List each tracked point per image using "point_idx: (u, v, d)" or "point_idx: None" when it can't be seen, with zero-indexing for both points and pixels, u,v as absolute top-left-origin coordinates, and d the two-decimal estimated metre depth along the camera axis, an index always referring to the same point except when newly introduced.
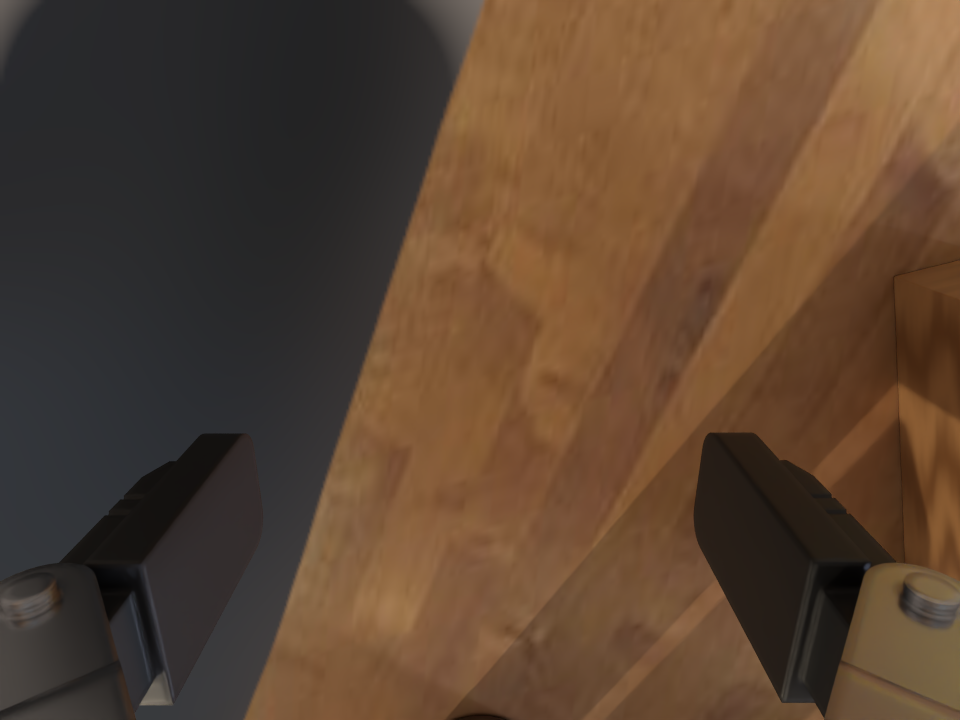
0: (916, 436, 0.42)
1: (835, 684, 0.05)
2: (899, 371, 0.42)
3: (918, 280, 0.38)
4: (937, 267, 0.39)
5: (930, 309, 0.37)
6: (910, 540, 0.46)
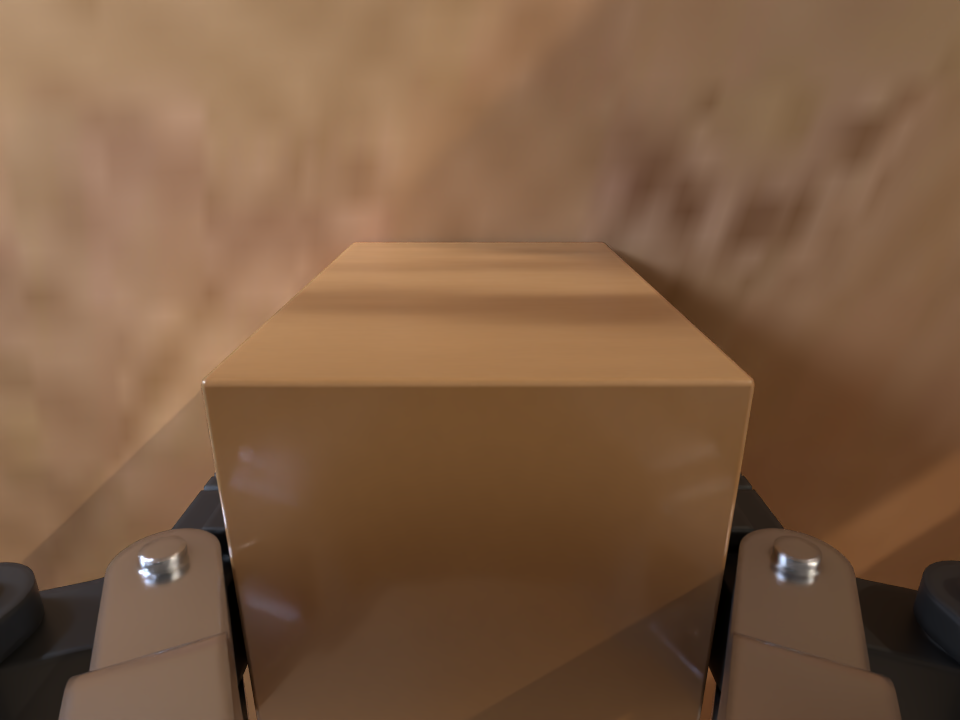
0: None
1: (732, 656, 0.05)
2: None
3: None
4: None
5: None
6: None
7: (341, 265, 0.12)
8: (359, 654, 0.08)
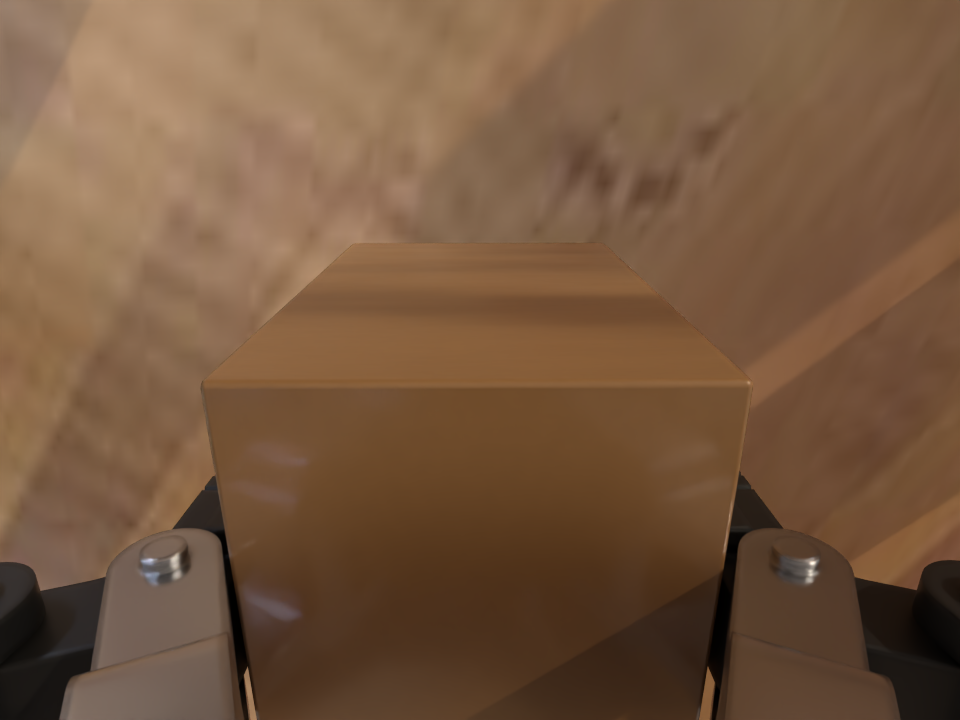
0: None
1: (732, 657, 0.05)
2: None
3: None
4: None
5: None
6: None
7: (341, 266, 0.12)
8: (358, 654, 0.08)
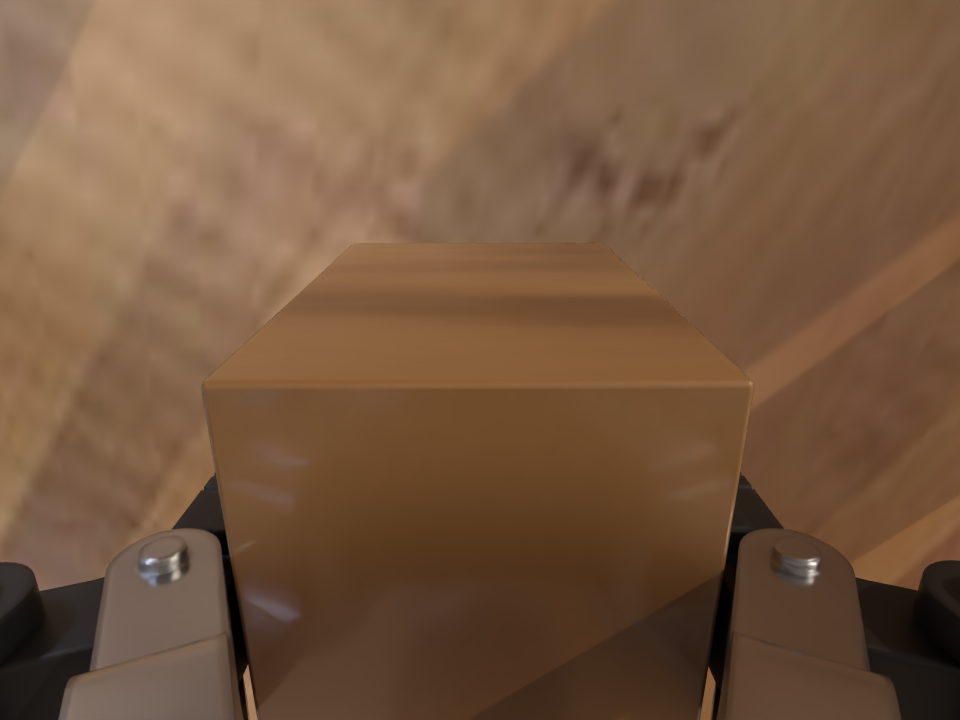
0: None
1: (732, 657, 0.05)
2: None
3: None
4: None
5: None
6: None
7: (341, 266, 0.12)
8: (360, 655, 0.08)
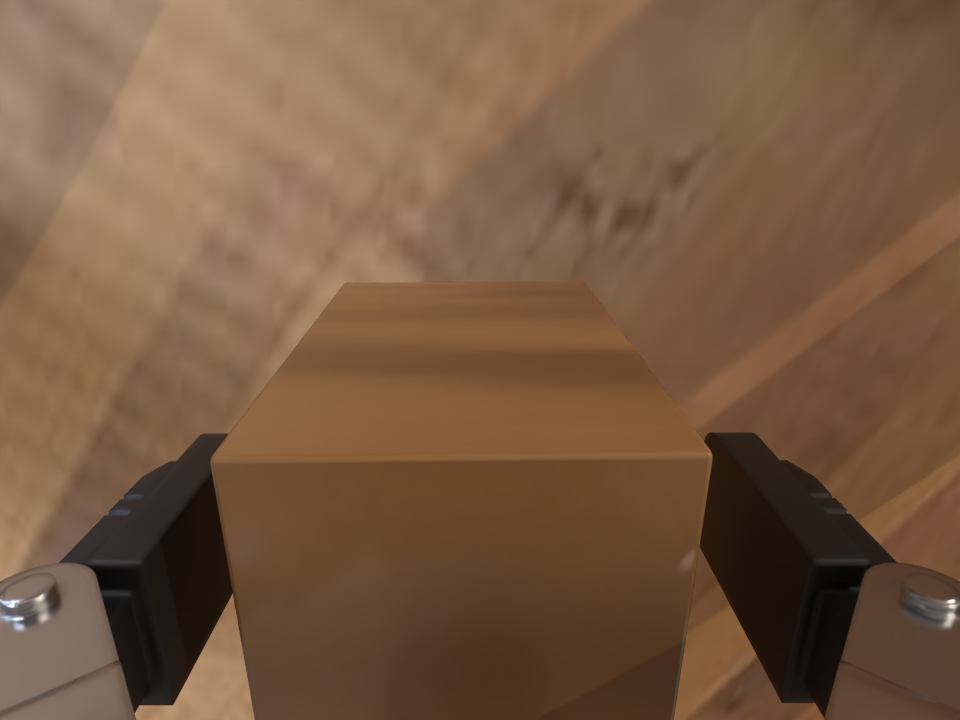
0: None
1: (835, 684, 0.05)
2: None
3: None
4: None
5: None
6: None
7: (334, 313, 0.12)
8: (356, 697, 0.08)
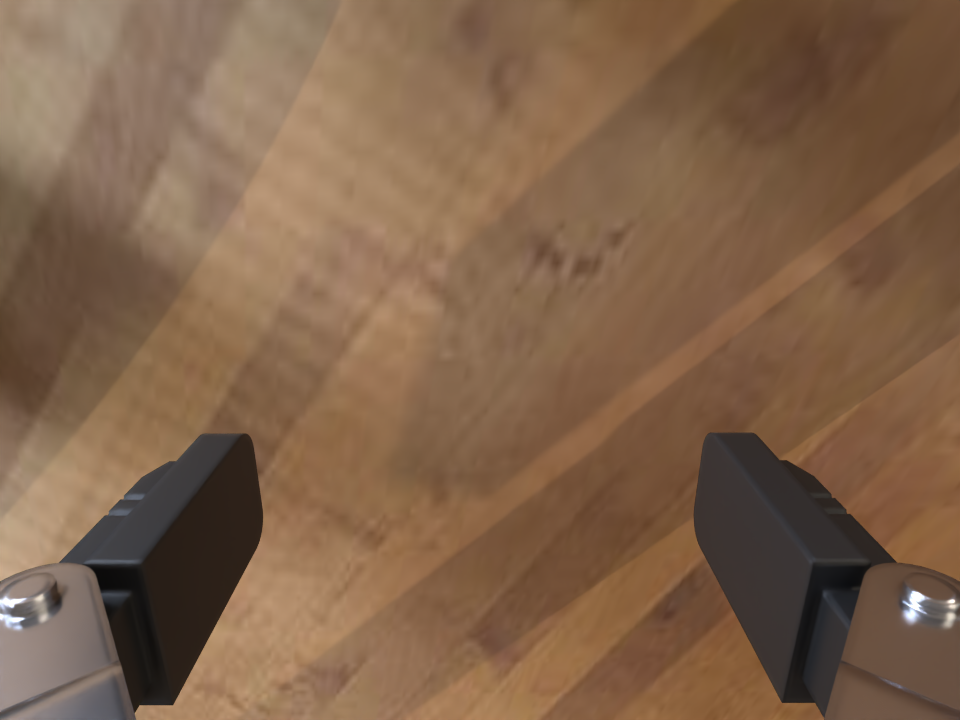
0: None
1: (835, 684, 0.05)
2: None
3: None
4: None
5: None
6: None
7: None
8: None
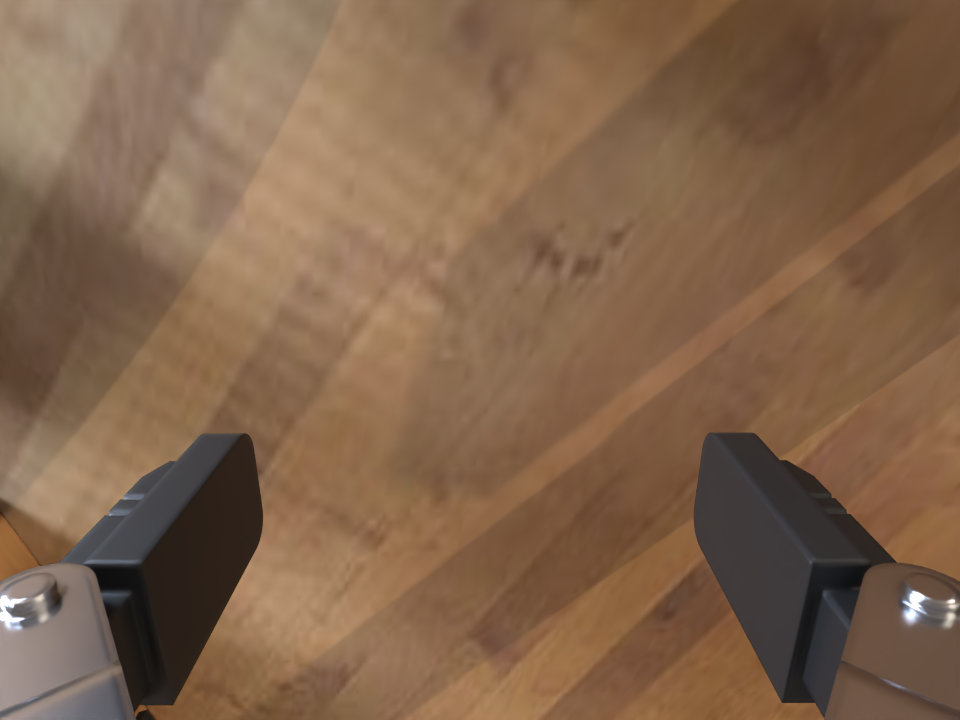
0: None
1: (835, 684, 0.05)
2: None
3: None
4: None
5: None
6: (10, 543, 0.45)
7: None
8: None
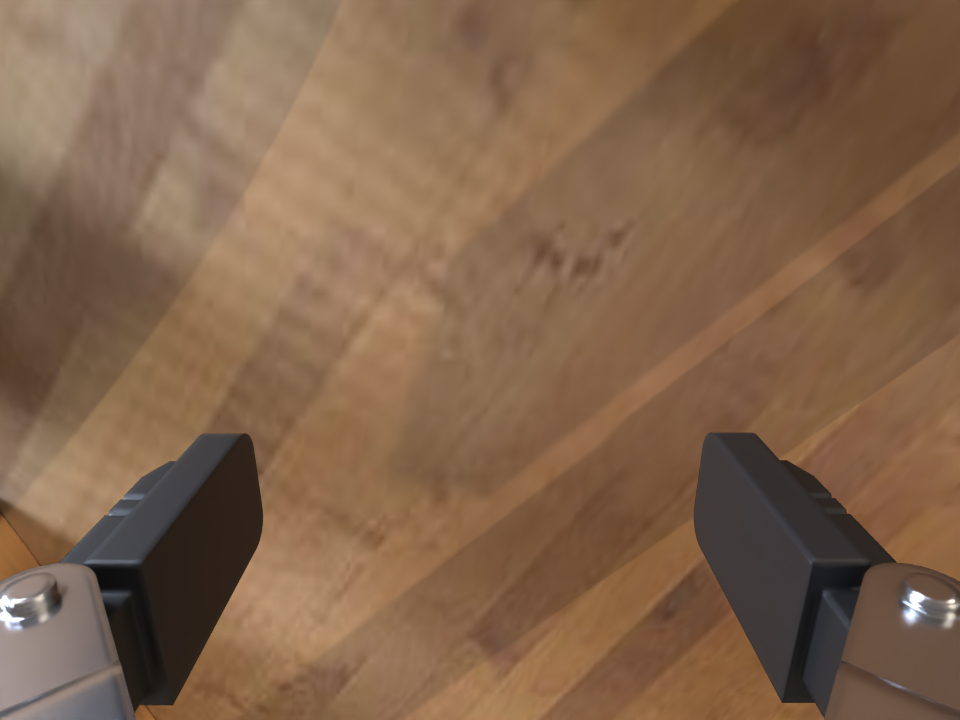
0: None
1: (835, 684, 0.05)
2: None
3: None
4: None
5: None
6: (10, 543, 0.45)
7: None
8: None
